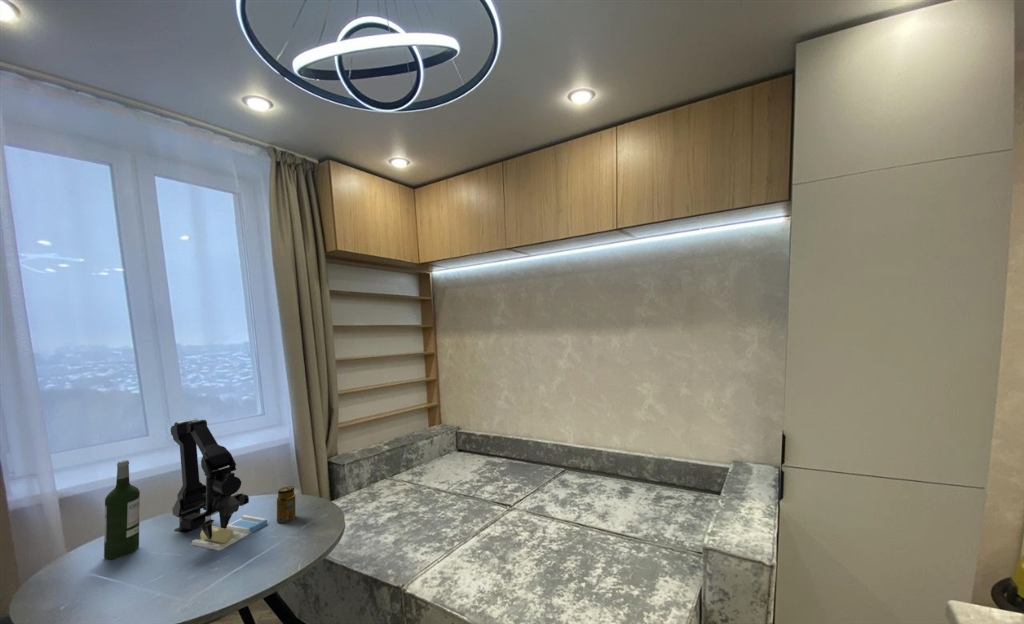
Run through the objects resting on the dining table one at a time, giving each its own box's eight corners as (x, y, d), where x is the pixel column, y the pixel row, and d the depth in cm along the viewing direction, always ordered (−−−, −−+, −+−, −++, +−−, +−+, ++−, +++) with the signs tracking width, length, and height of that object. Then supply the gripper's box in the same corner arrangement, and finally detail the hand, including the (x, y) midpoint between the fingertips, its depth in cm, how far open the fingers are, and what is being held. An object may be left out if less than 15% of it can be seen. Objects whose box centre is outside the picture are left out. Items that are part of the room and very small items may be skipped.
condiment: (295, 514, 143) (295, 483, 143) (299, 522, 136) (298, 490, 136) (273, 520, 138) (273, 488, 138) (276, 530, 131) (275, 496, 132)
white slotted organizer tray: (190, 545, 123) (190, 539, 123) (242, 518, 140) (242, 513, 140) (219, 551, 119) (219, 545, 119) (269, 523, 136) (269, 518, 136)
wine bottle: (139, 552, 120) (140, 460, 122) (103, 563, 115) (104, 467, 116) (138, 542, 126) (139, 455, 127) (104, 553, 120) (106, 461, 121)
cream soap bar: (200, 541, 124) (200, 529, 125) (212, 534, 128) (212, 523, 128) (220, 545, 121) (220, 533, 122) (233, 539, 125) (233, 527, 125)
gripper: (203, 504, 114) (202, 555, 114) (260, 480, 132) (260, 524, 131) (179, 500, 118) (178, 550, 117) (237, 477, 135) (237, 520, 135)
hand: (216, 535), depth 125 cm, fingers closed on cream soap bar, 4 cm apart
